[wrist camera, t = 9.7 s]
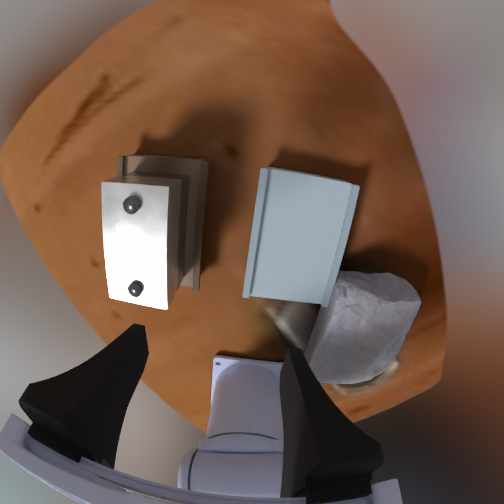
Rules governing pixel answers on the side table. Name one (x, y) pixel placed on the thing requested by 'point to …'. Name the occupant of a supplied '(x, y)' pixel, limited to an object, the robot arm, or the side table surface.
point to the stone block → (361, 327)
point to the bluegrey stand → (298, 235)
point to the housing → (145, 236)
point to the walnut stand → (196, 201)
